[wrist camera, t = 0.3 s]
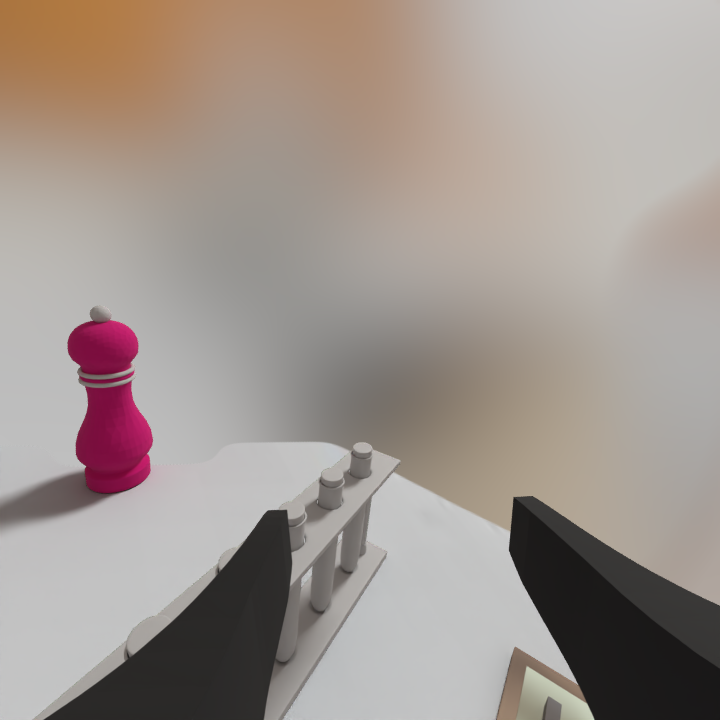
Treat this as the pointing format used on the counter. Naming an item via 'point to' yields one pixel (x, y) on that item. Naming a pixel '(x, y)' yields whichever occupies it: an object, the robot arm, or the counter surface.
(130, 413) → the pepper mill
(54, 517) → the counter surface
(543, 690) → the cradle board
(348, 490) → the test tube rack
